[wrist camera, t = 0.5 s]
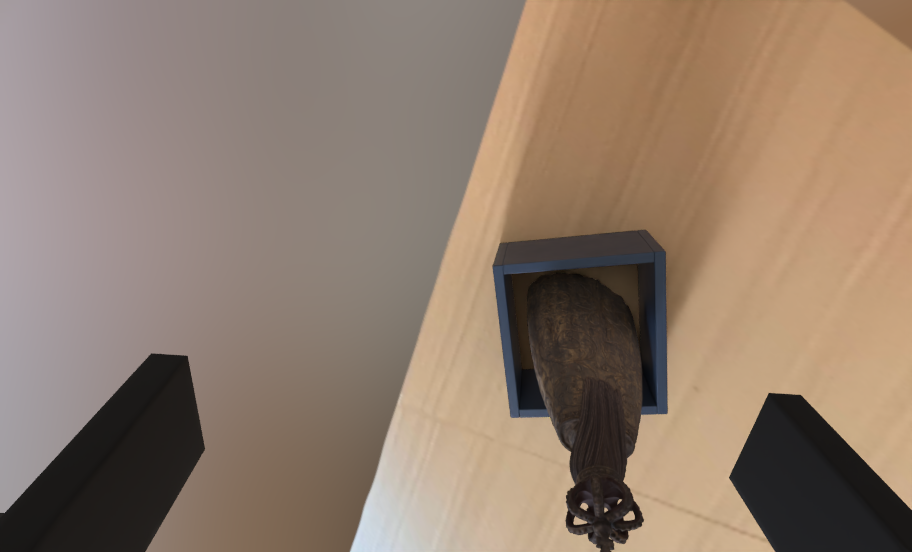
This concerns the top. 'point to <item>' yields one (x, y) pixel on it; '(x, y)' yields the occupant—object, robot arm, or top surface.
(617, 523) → the statue
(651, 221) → the top surface
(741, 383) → the top surface
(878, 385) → the top surface
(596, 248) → the bin
